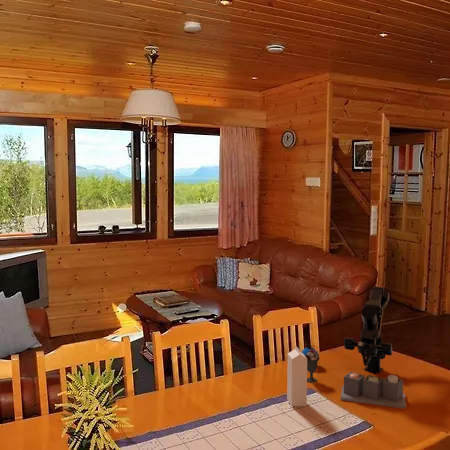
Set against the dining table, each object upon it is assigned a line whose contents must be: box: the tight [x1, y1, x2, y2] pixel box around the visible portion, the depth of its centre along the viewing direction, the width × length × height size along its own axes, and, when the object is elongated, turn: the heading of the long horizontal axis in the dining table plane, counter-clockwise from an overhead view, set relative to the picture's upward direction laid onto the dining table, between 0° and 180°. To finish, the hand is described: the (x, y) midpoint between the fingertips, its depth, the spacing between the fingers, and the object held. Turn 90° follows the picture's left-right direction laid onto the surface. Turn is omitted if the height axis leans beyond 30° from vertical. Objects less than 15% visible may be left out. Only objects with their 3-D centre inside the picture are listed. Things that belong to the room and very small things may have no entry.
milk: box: [286, 345, 308, 407], centre depth 185 cm, size 6×6×22 cm
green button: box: [368, 375, 378, 382], centre depth 189 cm, size 4×4×4 cm
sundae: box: [305, 345, 320, 384], centre depth 206 cm, size 7×7×15 cm
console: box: [340, 371, 407, 409], centre depth 189 cm, size 11×24×8 cm, turn 72°
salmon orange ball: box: [350, 372, 359, 379], centre depth 192 cm, size 4×4×4 cm
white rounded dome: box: [387, 374, 399, 384], centre depth 187 cm, size 4×4×4 cm
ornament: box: [301, 343, 320, 358], centre depth 222 cm, size 9×9×10 cm
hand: (365, 365), depth 192 cm, fingers closed
